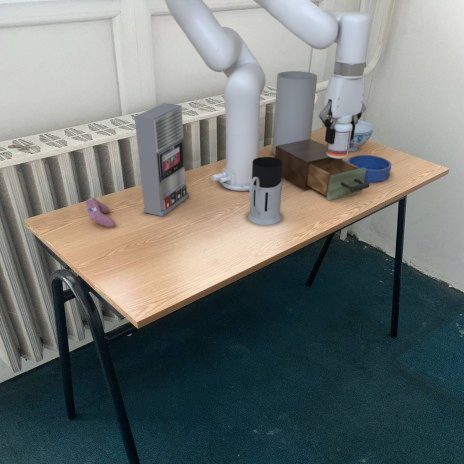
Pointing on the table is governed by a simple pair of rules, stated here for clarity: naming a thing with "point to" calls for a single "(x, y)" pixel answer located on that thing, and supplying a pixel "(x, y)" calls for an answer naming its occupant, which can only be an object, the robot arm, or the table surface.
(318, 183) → the drawer
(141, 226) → the table surface
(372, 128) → the chinaware
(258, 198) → the glass holder
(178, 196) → the cassette tape recorder
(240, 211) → the table surface
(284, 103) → the cylinder vase
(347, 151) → the pill bottle
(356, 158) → the bowl
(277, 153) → the cabinet
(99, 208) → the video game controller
